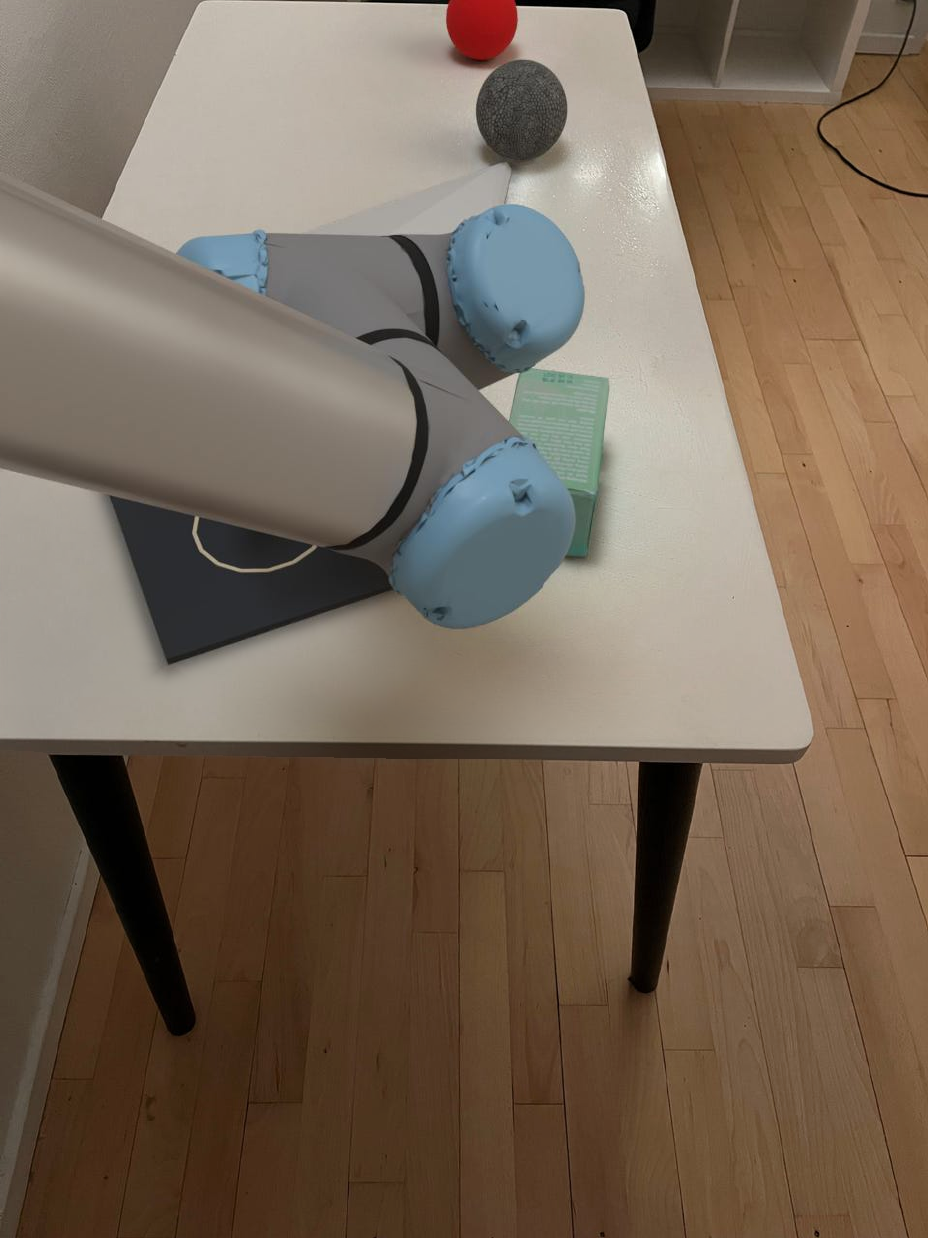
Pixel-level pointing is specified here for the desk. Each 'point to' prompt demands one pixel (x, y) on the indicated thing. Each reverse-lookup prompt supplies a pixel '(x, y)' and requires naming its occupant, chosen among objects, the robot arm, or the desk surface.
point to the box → (566, 435)
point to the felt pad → (232, 578)
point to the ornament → (481, 26)
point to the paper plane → (429, 207)
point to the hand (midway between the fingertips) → (241, 450)
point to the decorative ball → (521, 110)
